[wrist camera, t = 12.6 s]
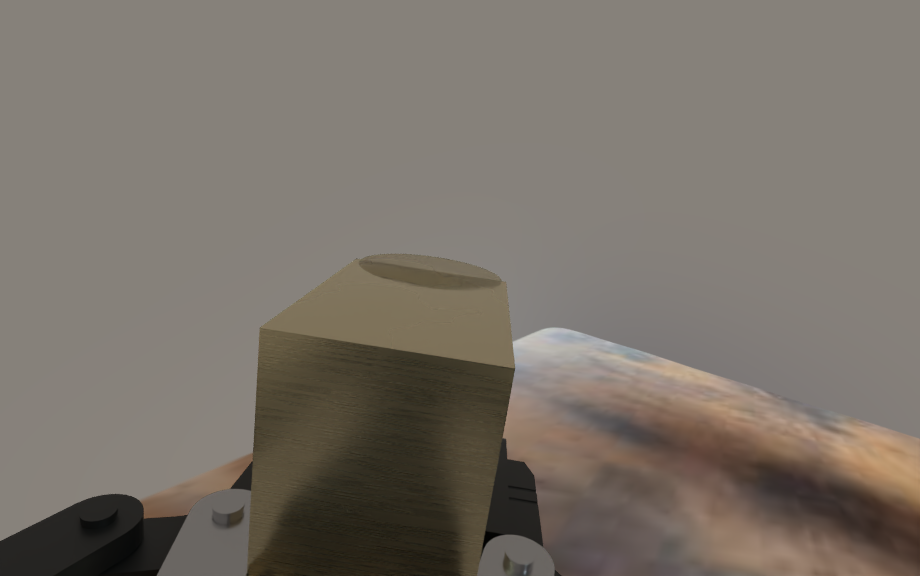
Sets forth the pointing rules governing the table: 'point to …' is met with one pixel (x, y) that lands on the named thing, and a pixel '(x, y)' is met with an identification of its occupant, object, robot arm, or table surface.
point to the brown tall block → (381, 421)
